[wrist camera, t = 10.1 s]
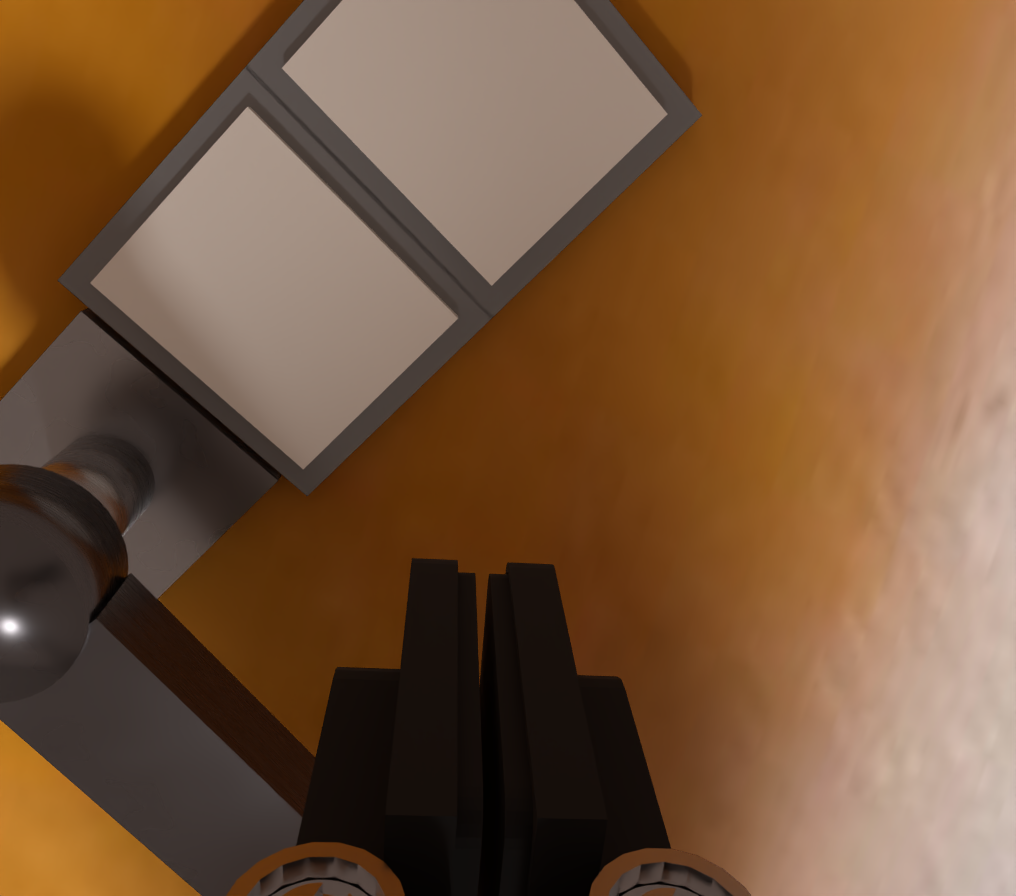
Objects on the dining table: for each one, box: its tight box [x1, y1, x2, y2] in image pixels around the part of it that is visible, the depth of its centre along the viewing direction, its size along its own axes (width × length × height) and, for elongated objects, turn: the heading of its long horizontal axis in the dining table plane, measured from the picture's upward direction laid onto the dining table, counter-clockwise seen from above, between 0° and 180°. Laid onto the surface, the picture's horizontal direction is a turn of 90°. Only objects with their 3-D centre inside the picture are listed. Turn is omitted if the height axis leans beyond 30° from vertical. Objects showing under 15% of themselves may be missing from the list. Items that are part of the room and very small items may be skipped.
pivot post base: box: [0, 308, 281, 599], centre depth 20 cm, size 6×6×4 cm
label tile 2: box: [58, 65, 494, 496], centre depth 20 cm, size 8×7×1 cm
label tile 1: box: [245, 0, 702, 319], centre depth 19 cm, size 8×7×1 cm
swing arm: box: [0, 464, 315, 896], centre depth 19 cm, size 18×4×2 cm, turn 35°
